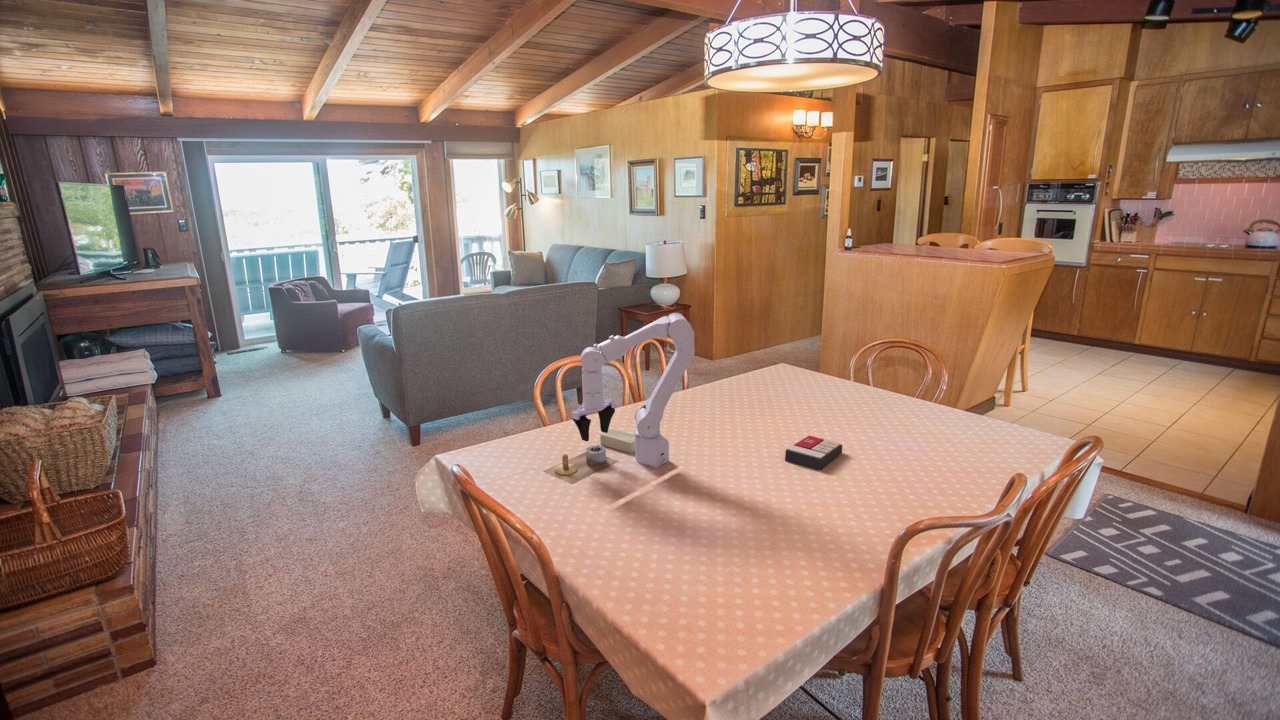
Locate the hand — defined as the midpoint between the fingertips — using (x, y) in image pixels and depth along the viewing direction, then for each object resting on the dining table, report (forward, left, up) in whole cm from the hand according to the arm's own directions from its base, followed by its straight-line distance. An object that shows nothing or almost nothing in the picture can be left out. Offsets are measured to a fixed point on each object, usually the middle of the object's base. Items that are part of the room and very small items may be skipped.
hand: (594, 436), depth 176 cm
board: (+1, +5, -9) cm, 10 cm away
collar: (0, 0, -8) cm, 8 cm away
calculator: (-46, -44, -10) cm, 64 cm away
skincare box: (+9, -13, -7) cm, 17 cm away
